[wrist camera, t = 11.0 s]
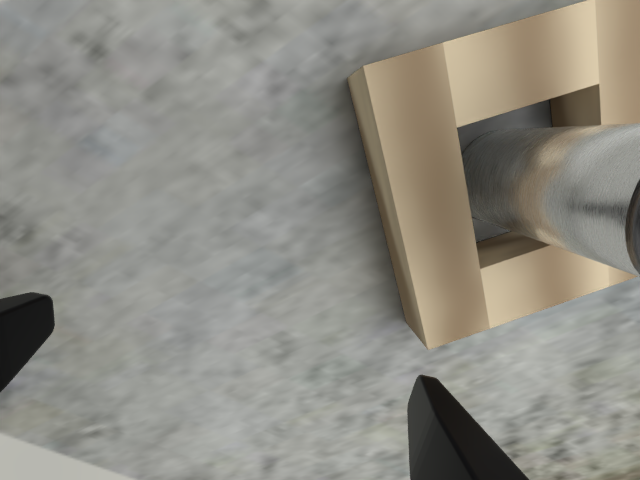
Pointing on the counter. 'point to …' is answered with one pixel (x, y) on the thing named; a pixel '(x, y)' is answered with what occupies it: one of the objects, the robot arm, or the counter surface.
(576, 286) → the tan square ring
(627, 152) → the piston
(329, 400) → the counter surface
